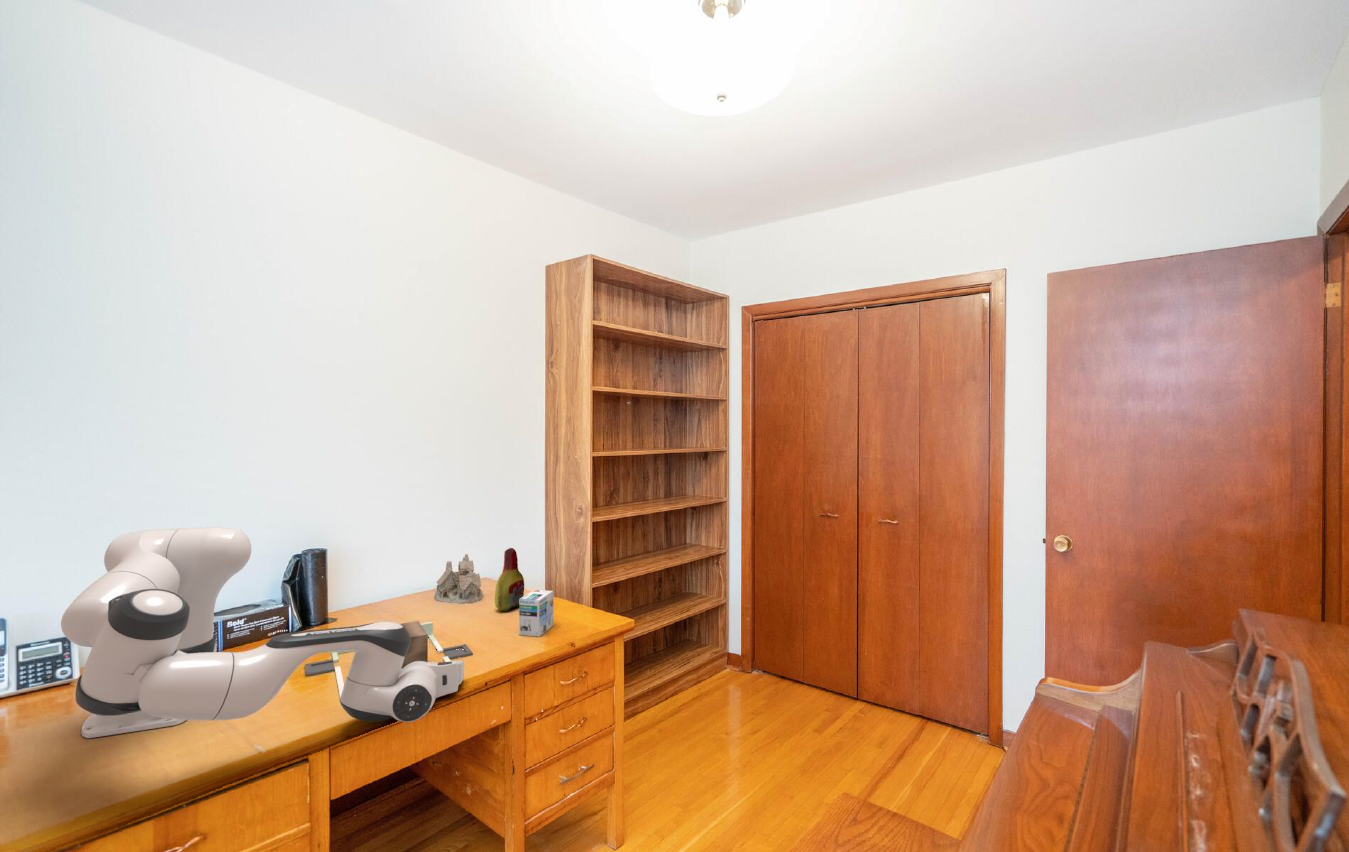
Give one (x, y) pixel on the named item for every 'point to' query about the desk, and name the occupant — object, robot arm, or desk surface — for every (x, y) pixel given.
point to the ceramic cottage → (459, 584)
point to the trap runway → (329, 664)
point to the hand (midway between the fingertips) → (420, 668)
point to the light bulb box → (536, 613)
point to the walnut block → (416, 643)
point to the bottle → (509, 583)
